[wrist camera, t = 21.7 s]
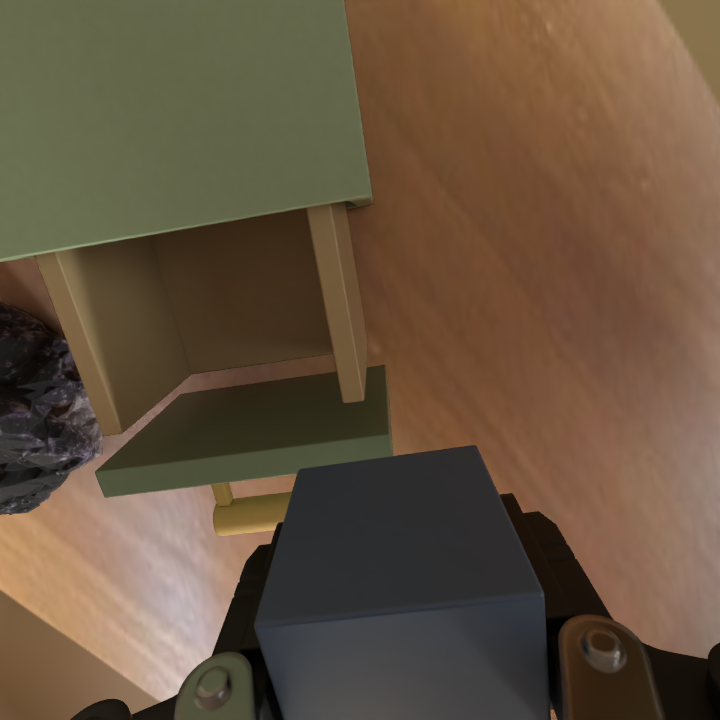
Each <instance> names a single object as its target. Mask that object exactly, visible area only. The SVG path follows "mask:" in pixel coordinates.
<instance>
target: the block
mask: <svg viewBox="0 0 720 720" xmlns="http://www.w3.org/2000/svg"><path fill="white" fill-rule="evenodd" d="M254 629H255V632H256V635H257V638H258V641H259V644H260V647H261V651H262V654H263V657H264V660H265V663H266V666H267V669H268V672H269V676H270V679H271V682H272V685H273V688H274V691H275V694H276V697H277V701H278V704H279V707H280V710H281V713H282V716H283V719H284V720H551V715H550V695H549V676H548V656H547V637H546V618H545V598H544V592H543V590H542V587H541V585H540V583H539V581H538V579H537V577H536V574H535V572H534V570H533V568H532V566H531V563H530V561H529V559H528V557H527V555H526V553H525V550H524V548H523V546H522V544H521V542H520V539H519V537H518V535H517V533H516V531H515V529H514V526H513V524H512V522H511V520H510V518H509V515H508V513H507V511H506V509H505V507H504V505H503V502H502V500H501V498H500V496H499V494H498V491H497V489H496V487H495V485H494V483H493V481H492V478H491V476H490V474H489V472H488V470H487V467H486V465H485V463H484V461H483V459H482V457H481V454H480V452H479V450H478V448H477V446H475V445H472V446H464V447H457V448H449V449H442V450H435V451H427V452H420V453H413V454H405V455H398V456H391V457H383V458H376V459H369V460H361V461H354V462H347V463H339V464H332V465H325V466H317V467H310V468H302V469H299V470H298V473H297V477H296V480H295V484H294V487H293V491H292V494H291V498H290V501H289V504H288V508H287V511H286V515H285V518H284V522H283V525H282V529H281V532H280V536H279V539H278V542H277V546H276V549H275V553H274V556H273V560H272V563H271V567H270V570H269V574H268V577H267V580H266V584H265V587H264V591H263V594H262V598H261V601H260V605H259V608H258V611H257V615H256V618H255V622H254Z"/></svg>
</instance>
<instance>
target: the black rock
mask: <svg viewBox="0 0 720 720" xmlns="http://www.w3.org/2000/svg"><path fill="white" fill-rule="evenodd" d="M101 438H102V432H101V429H100V427H99V424H98V422H97V419H96V416H95V414H94V411H93V408H92V406H91V403H90V401H89V398H88V395H87V393H86V390H85V387H84V385H83V382H82V380H81V377H80V374H79V372H78V369H77V367H76V364H75V361H74V359H73V356H72V353H71V351H70V348H69V346H68V343H67V341H66V340H65V339H64V338H63V337H62V336H60V335H57V334H54V333H51V332H50V331H48V330H47V329H46V328H45V326H44V324H43V323H42V322H41V321H39V320H37V319H35V318H34V317H32V316H31V315H29V314H27V313H26V312H23V311H20V310H17V309H15V308H14V307H13V306H12V305H8V304H5V303H2V302H0V515H1V514H9V515H12V514H15V513H27V512H30V511H31V510H33V509H35V508H36V507H38V506H40V503H42V502H43V501H45V500H47V499H49V496H50V494H51V493H52V492H53V491H54V490H56V489H57V488H58V487H59V486H61V485H62V483H63V482H64V481H65V480H66V479H67V477H68V475H69V474H70V472H71V471H73V470H75V469H77V468H80V467H82V466H84V465H86V464H87V463H89V462H91V461H92V460H94V459H95V458H97V457H98V456H100V455H102V454H103V451H102V445H101Z"/></svg>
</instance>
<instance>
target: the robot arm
mask: <svg viewBox="0 0 720 720" xmlns="http://www.w3.org/2000/svg"><path fill="white" fill-rule="evenodd" d="M499 496H500V498H501V500H502V502H503V505H504V507H505V509H506V511H507V513H508V515H509V518H510V520H511V522H512V524H513V526H514V529H515V531H516V533H517V535H518V537H519V539H520V542H521V544H522V546H523V548H524V550H525V553H526V555H527V557H528V559H529V561H530V563H531V566H532V568H533V570H534V572H535V574H536V577H537V579H538V581H539V583H540V585H541V587H542V590H543V592H544V598H545V618H546V637H547V656H548V676H549V695H550V710H552V709H554V711H555V714H556V717H557V719H558V720H720V643H718V644H716V645H715V646H714V647H713V648H712V649H711V650H710V652H709V655H708V659H704V658H698V657H693V656H688V655H683V654H677V653H672V652H667V651H663V650H659V649H657V648H654V647H651V646H649V645H646V644H644V643H642V642H641V641H640V640H639V638H638V637H637V636H636V635H635V634H634V633H633V632H632V631H630V630H629V629H628V628H626V627H625V626H623V625H622V624H620V623H618V622H616V621H614V620H613V618H612V617H611V615H610V614H609V612H608V611H607V609H606V607H605V606H604V604H603V602H602V601H601V599H600V597H599V596H598V594H597V592H596V591H595V589H594V587H593V586H592V584H591V582H590V581H589V579H588V577H587V576H586V574H585V572H584V571H583V569H582V567H581V566H580V564H579V562H578V561H577V559H575V556H574V554H573V552H572V551H571V549H570V547H569V546H568V545H567V544H566V541H565V539H564V537H563V536H562V534H561V532H560V531H559V529H558V527H557V526H556V524H555V523H553V522H552V521H551V520H549V519H548V518H547V517H545V516H544V515H543V514H541V513H540V512H539V511H538V512H530V513H523V512H522V510H521V508H520V506H519V504H518V502H517V500H516V498H515V497H514V495H513V494H512V493H508V494H501V495H499ZM282 525H283V522H279V523H278V524H277V526H276V529H275V532H274V536H273V539H272V542H271V544H266V545H259V546H258V548H257V549H256V550H255V551H254V552H253V554H252V555H251V556H250V557H249V558H248V560H247V561H246V563H245V566H244V568H243V571H242V574H241V577H240V582H239V583H238V585H237V588H236V590H235V593H234V598H233V599H232V601H231V604H230V607H229V610H228V612H227V615H226V618H225V621H224V623H223V626H222V629H221V632H220V634H219V637H218V640H217V643H216V645H215V648H214V651H213V654H212V656H211V657H210V658H208V659H206V660H205V661H203V662H202V663H201V664H199V665H198V666H197V667H196V668H195V669H194V670H193V671H192V672H191V673H190V674H189V675H188V676H187V678H186V679H185V681H184V682H183V684H182V686H181V688H180V690H179V693H178V694H177V695H175V696H174V697H172V698H170V699H167V700H165V701H163V702H160V703H158V704H156V705H153V706H151V707H149V708H146V709H144V710H142V711H139V712H137V713H135V714H132V715H131V713H130V711H129V708H128V707H127V705H126V704H125V703H124V702H123V701H120V700H117V699H107V700H103V701H99V702H97V703H94V704H92V705H90V706H88V707H87V708H85V709H83V710H82V711H80V712H79V713H78V714H77V715H75V716H74V717H73V718H72V719H71V720H284V719H283V716H282V713H281V710H280V707H279V704H278V701H277V697H276V694H275V691H274V688H273V685H272V682H271V679H270V676H269V672H268V669H267V666H266V663H265V660H264V657H263V654H262V651H261V647H260V644H259V641H258V638H257V635H256V632H255V629H254V622H255V618H256V615H257V611H258V608H259V605H260V601H261V598H262V594H263V591H264V587H265V584H266V580H267V577H268V574H269V570H270V567H271V563H272V560H273V556H274V553H275V549H276V546H277V542H278V539H279V536H280V532H281V529H282Z"/></svg>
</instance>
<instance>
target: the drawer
mask: <svg viewBox="0 0 720 720" xmlns="http://www.w3.org/2000/svg"><path fill="white" fill-rule="evenodd" d="M34 256H35V259H36V262H37V264H38V267H39V269H40V272H41V275H42V277H43V280H44V283H45V285H46V288H47V290H48V293H49V296H50V298H51V301H52V304H53V306H54V309H55V311H56V314H57V317H58V319H59V322H60V325H61V327H62V330H63V332H64V335H65V338H66V340H67V343H68V346H69V348H70V351H71V353H72V356H73V359H74V361H75V364H76V367H77V369H78V372H79V374H80V377H81V380H82V382H83V385H84V387H85V390H86V393H87V395H88V398H89V401H90V403H91V406H92V408H93V411H94V414H95V416H96V419H97V422H98V424H99V427H100V429H101V432H102V435H103V436H109V435H116V434H122V433H123V432H125V431H126V430H127V429H128V428H129V427H131V426H132V425H133V424H134V423H135V422H136V421H138V420H139V419H140V418H141V417H142V416H143V415H145V414H146V413H147V412H148V411H149V410H150V409H152V408H153V407H154V406H155V405H156V404H157V403H159V402H160V401H161V400H162V399H163V398H165V397H166V396H167V395H168V394H169V393H170V392H172V391H173V390H174V389H175V388H176V387H177V386H179V385H180V384H181V383H182V382H183V381H184V380H186V379H187V378H188V377H189V376H190V375H191V374H197V373H204V372H211V371H218V370H225V369H231V368H238V367H245V366H252V365H259V364H266V363H273V362H280V361H287V360H293V359H300V358H307V357H314V356H321V355H328V354H334V359H335V364H336V369H337V372H332V373H325V374H318V375H311V376H304V377H296V378H289V379H282V380H275V381H268V382H261V383H254V384H247V385H240V386H233V387H226V388H219V389H212V390H205V391H198V392H191V393H184V394H180V395H179V396H178V397H177V398H176V399H175V400H174V401H173V402H171V403H170V404H169V405H168V406H167V407H166V408H165V409H164V410H163V411H161V412H160V413H159V414H158V415H157V416H156V417H155V418H154V419H153V420H152V421H150V422H149V423H148V424H147V425H146V426H145V427H144V428H143V429H142V430H141V431H139V432H138V433H137V434H136V435H135V436H134V437H133V438H132V439H131V440H129V441H128V442H127V443H126V444H125V445H124V446H123V447H122V448H121V449H120V450H118V451H117V452H116V453H115V454H114V455H113V456H112V457H111V458H110V459H109V460H107V461H106V462H105V463H104V464H103V465H102V466H101V467H100V468H99V469H97V470H96V471H95V474H96V477H97V479H98V482H99V484H100V487H101V489H102V492H103V494H104V497H106V498H107V497H115V496H123V495H131V494H139V493H147V492H155V491H164V490H172V489H180V488H188V487H196V486H204V485H211V486H212V489H213V492H214V496H215V499H216V502H217V504H216V505H215V508H214V513H213V524H214V529H215V531H216V533H217V534H218V535H219V536H225V535H234V534H243V533H252V532H261V531H269V530H275V529H276V526H277V524H278V523H279V522H284V518H285V515H286V511H287V508H288V504H289V501H290V498H291V494H292V492H286V493H278V494H269V495H261V496H252V497H244V498H236V499H233V495H232V492H231V488H230V485H229V482H237V481H245V480H253V479H261V478H269V477H278V476H286V475H294V474H297V473H298V470H299V469H302V468H310V467H317V466H325V465H332V464H339V463H347V462H354V461H361V460H369V459H376V458H383V457H391V456H393V443H392V429H391V415H390V401H389V387H388V379H387V373H386V366H385V365H381V366H374V367H367V353H368V340H367V334H366V328H365V321H364V315H363V309H362V303H361V297H360V291H359V285H358V278H357V272H356V266H355V260H354V254H353V248H352V242H351V235H350V229H349V223H348V217H347V211H346V205H345V201H342V202H336V203H331V204H325V205H319V206H313V207H308V208H302V209H296V210H291V211H285V212H279V213H273V214H268V215H262V216H256V217H251V218H245V219H239V220H233V221H228V222H222V223H216V224H210V225H205V226H199V227H193V228H188V229H182V230H176V231H170V232H165V233H159V234H153V235H147V236H142V237H136V238H130V239H125V240H119V241H113V242H107V243H102V244H96V245H90V246H84V247H79V248H73V249H67V250H62V251H56V252H50V253H44V254H39V255H34Z"/></svg>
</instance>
